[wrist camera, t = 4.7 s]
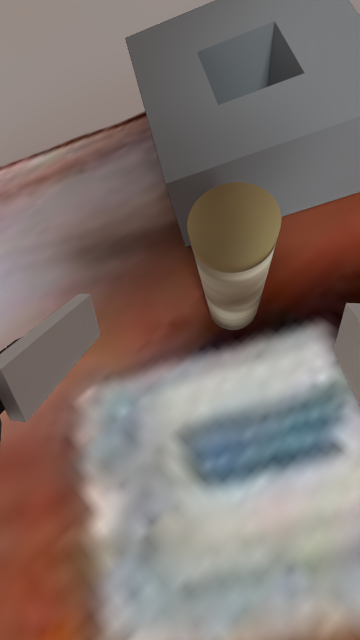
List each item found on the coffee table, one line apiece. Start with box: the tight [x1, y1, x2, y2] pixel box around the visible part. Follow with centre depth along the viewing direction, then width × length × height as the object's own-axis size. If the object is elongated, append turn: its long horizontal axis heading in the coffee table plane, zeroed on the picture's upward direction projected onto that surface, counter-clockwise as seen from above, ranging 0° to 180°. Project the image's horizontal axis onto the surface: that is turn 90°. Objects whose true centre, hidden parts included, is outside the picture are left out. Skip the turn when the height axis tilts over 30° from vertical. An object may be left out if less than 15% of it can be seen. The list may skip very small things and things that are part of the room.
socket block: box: [125, 0, 360, 247], centre depth 23 cm, size 16×16×8 cm
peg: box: [187, 182, 281, 330], centre depth 17 cm, size 4×4×12 cm
